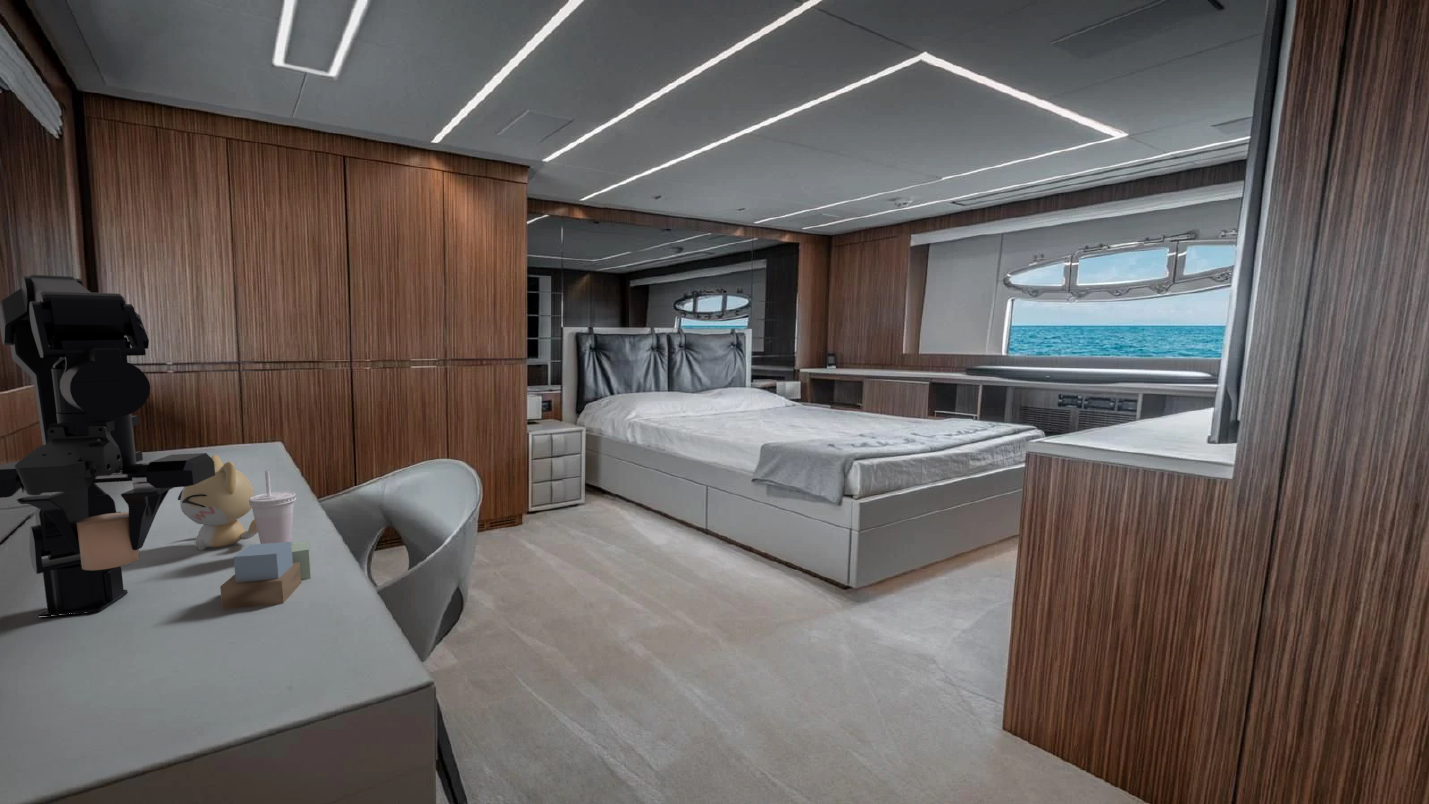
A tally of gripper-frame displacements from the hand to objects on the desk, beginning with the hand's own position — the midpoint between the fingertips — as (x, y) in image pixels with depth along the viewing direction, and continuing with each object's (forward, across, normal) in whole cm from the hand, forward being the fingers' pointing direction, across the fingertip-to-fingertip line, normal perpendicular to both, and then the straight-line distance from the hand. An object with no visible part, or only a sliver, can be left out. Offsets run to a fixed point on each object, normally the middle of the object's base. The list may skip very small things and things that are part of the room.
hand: (110, 551), depth 70 cm
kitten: (+13, -7, +42) cm, 44 cm away
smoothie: (+12, +4, +34) cm, 36 cm away
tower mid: (+9, +9, +15) cm, 20 cm away
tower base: (+13, +8, +15) cm, 21 cm away
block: (+12, +10, +22) cm, 27 cm away
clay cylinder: (+1, 0, 0) cm, 1 cm away
